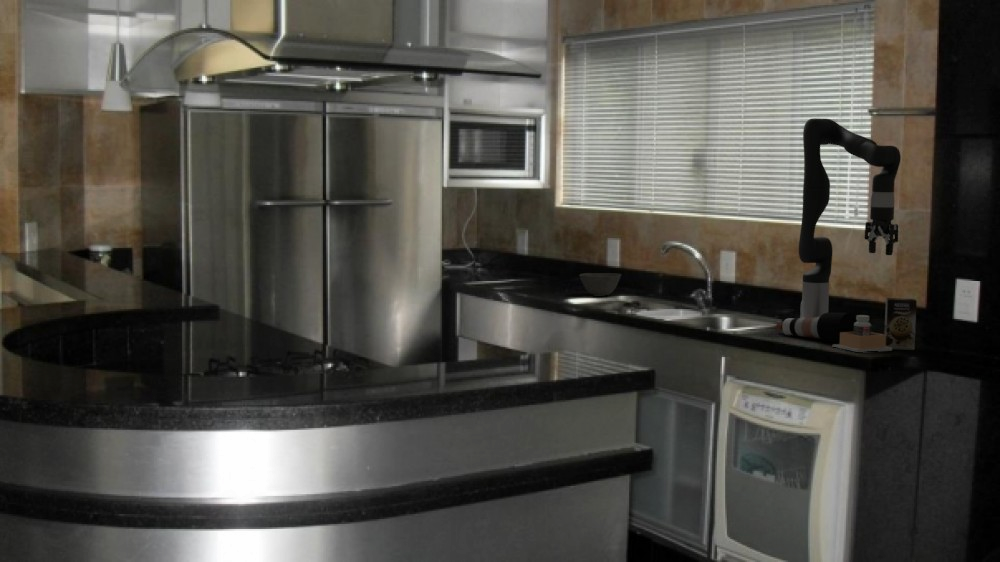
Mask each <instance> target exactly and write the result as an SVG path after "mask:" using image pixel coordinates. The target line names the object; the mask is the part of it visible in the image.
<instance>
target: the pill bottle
mask: <svg viewBox="0 0 1000 562" xmlns="http://www.w3.org/2000/svg"><path fill="white" fill-rule="evenodd" d="M856 320H857V322H855V323H854V335H858V336H868V335H871V332H872V324H871V323H870V322H869V321H870V315H866V314H859V315H858V314H857V315H856Z"/></svg>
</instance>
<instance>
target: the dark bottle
mask: <svg viewBox="0 0 1000 562" xmlns="http://www.w3.org/2000/svg"><path fill="white" fill-rule="evenodd" d="M856 316H857V315H856V314H855V313H853V312H828V313H824V314H822V315H821V316H820V317H807V318H800V317H793V318H792V317H791V318H790V317H789V318H786V319H784V321H783V322H782V323H776V325H775V329H776V330H779V331H782V332H783V333H784V335H786V336H791V335H792V336H793V337H794V336H795V337H803V338H804V337H806V338H813V339H814V338H815V339H817V338H818V339H820V340H821V341H822V342H824V341H827V342H826V343H830V342H836V343H835V344H840V332H854V323H855V322H857V320H856ZM792 336H791V337H792Z"/></svg>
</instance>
